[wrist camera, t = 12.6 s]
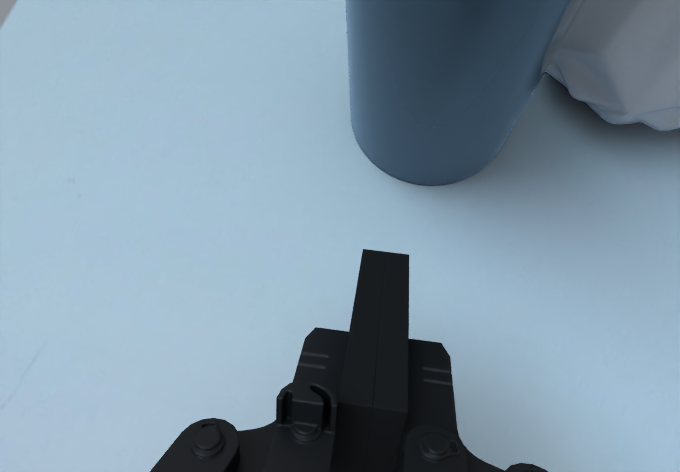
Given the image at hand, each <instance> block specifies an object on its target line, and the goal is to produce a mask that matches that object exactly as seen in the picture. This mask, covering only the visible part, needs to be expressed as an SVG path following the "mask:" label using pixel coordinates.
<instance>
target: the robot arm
mask: <svg viewBox="0 0 680 472" xmlns="http://www.w3.org/2000/svg"><path fill="white" fill-rule="evenodd" d="M408 332H409V255H407V254H399V253H390V252H382V251H374V250H366V249H363V253H362V259H361V265H360V271H359V277H358V283H357V289H356V295H355V301H354V307H353V313H352V319H351V325H350V331H349V332H346V331H339V330H331V329H324V328H315V329H314V330H313V331H312V332H311V333H310V334H309V335H308V336H307V337H306V338H305V341H304V344H303V348H302V352H301V355H300V359H299V362H298V366H297V369H296V373H295V376H294V380H293V383H290V384H288V385H287V386H286V387H284V388H283V389H282V390H281V391H280V393H279V395H278V396H277V407H276V420H275V421H274V422H272V423H271V424H269V425H266V426H264V427H261V428H257V429H251V430H244V431H237V430H236V429H235V427H234V425H232V424H230V423H229V422H227V421H226V420H222V419H216V418H210V419H203V420H200V421H198V422H195V423H193V424H191V425H190V426H189V427H187V428H186V429H185V430H184V431H183V432H182V433H181V434H180V435H179V436H178V438H177V439H176V440H175V441H174V443H173V444H172V445H171V446H170V448H169V449H168V450H167V451H166V452H165V454H164V455H163V456H162V457H161V459H160V460H159V461H158V462H157V464H156V465H155V466H154V467H153V468H152V470H151V471H150V472H548V471H546V470H545V469H542V468H540V467H538V466H535V465H533V464H525V463H519V464H515V465H511V466H510V467H509V468H508V469H507V470H505V471H504V470H502V469H499V468H497V467H495V466H493V465H490V464H488V463H486V462H484V461H482V460H480V459H479V458H477V457H476V456H474V455H473V454H472V453H471V452H469V451H468V449H467V448H466V447H465V446H464V445H463V443H462V441H461V439H460V437H459V434H458V430H457V422H456V412H455V402H454V392H453V386H452V384H453V382H452V374H451V361H450V356H449V354H448V353H447V351H446V350H445V348H444V347H443V345H442V343H437V342H430V341H422V340H415V339H408Z"/></svg>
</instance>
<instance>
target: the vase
mask: <svg viewBox="0 0 680 472" xmlns="http://www.w3.org/2000/svg"><path fill="white" fill-rule="evenodd" d="M546 72H547V73H549V74H550V75H551V76H552V77H554V78H555V79H556V80H557V81H559V82H560V83H561V84H563V85H564V86H565V87H567V88H568V90H569V93H570V95H571V96H572V97H573V98H574V99H576V100H580V101H584V102H585V103H586V104H587V105H588V106H589V107H591V108H592V109H593V110H594V111H595V112H596V113H597V114H598V115H599V116H600V117H601V118H603V119H604V120H605V121H606V122H608V123H611V124H631V123H637V122H641V123H644V124H646V125H648V126H650V127H651V128H653V129H655V130H658V131H670V130H673V129H677V128H680V0H586V2H585V3H584V5H583V7H582V9H581V10H580V12H579V14H578V16H577V17H576V19H575V21H574V22H573V24H572V26H571V28H570V29H569V31H568V33H567V35H566V36H565V38H564V40H563V42H562V43H561V45H560V47H559V48H558V50H557V52H556V54H555V55H554V57H553V59H552V61H551V62H550V64H549V66H548V67H547V69H546Z"/></svg>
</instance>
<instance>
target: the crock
mask: <svg viewBox="0 0 680 472" xmlns="http://www.w3.org/2000/svg"><path fill="white" fill-rule="evenodd" d="M585 2H586V0H346V22H347V44H348V66H349V88H350V109H351V123H352V129H353V132H354V135H355V138H356V140H357V142H358V144H359V146H360V148H361V149H362V150H363V152H364V153H365V155H366V156H367V157H368V158H369V159H370V160H371V161H372V162H373V163H374V164H375V165H376V166H377V167H379V168H380V169H381V170H383V171H384V172H386V173H388V174H389V175H391V176H393V177H395V178H398V179H400V180H403V181H406V182H409V183H414V184H419V185H444V184H450V183H454V182H457V181H461V180H463V179H466V178H468V177H470V176H472V175H474V174H475V173H477V172H479V171H480V170H482V169H483V168H484V167H485V166H487V165H488V164H489V163H490V162H491V161H492V159H493V158H494V157H495V156H496V155H497V153H498V152H499V150H500V149H501V147H502V145H503V144H504V142H505V140H506V138H507V137H508V135H509V133H510V132H511V130H512V128H513V126H514V125H515V123H516V121H517V119H518V118H519V116H520V114H521V112H522V111H523V109H524V107H525V106H526V104H527V102H528V100H529V99H530V97H531V95H532V93H533V92H534V90H535V88H536V87H537V85H538V83H539V81H540V80H541V78H542V76H543V74H544V73H545V71H546V69H547V67H548V66H549V64H550V62H551V61H552V59H553V57H554V55H555V54H556V52H557V50H558V48H559V47H560V45H561V43H562V42H563V40H564V38H565V36H566V35H567V33H568V31H569V29H570V28H571V26H572V24H573V22H574V21H575V19H576V17H577V16H578V14H579V12H580V10H581V9H582V7H583V5H584V3H585Z"/></svg>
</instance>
